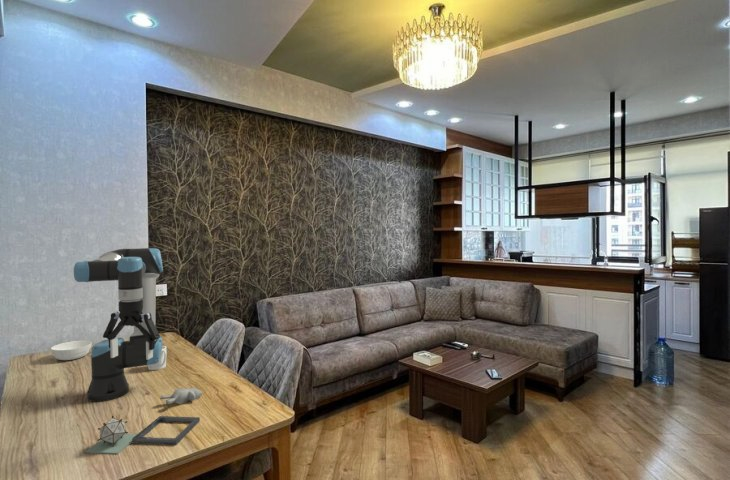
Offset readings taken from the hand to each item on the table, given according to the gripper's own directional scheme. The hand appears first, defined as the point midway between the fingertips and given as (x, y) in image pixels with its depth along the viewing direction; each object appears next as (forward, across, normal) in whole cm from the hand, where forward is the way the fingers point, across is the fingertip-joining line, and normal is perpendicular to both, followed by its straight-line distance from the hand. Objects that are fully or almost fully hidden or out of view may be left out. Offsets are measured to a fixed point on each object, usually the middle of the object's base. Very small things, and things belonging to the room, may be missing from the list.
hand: (132, 357), depth 137 cm
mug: (+27, -26, +54) cm, 66 cm away
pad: (+25, +2, -12) cm, 28 cm away
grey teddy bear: (+26, +8, +19) cm, 33 cm away
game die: (+24, +2, -12) cm, 27 cm away
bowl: (+28, -84, +65) cm, 111 cm away
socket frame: (+25, +16, -4) cm, 30 cm away
